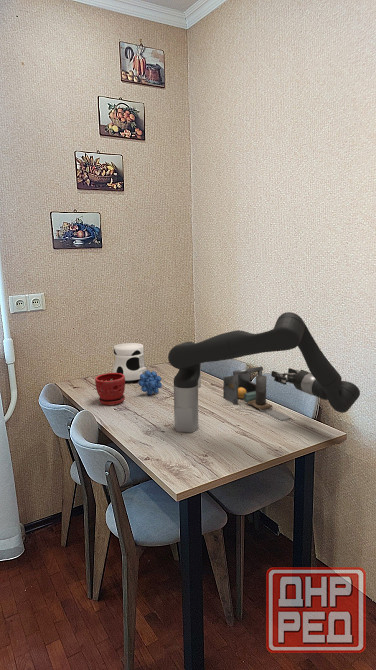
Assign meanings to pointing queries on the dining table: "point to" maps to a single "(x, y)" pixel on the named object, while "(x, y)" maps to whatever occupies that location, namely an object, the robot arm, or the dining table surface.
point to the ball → (241, 392)
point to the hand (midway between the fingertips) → (280, 372)
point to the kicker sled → (258, 394)
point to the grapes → (150, 382)
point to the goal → (239, 383)
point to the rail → (275, 414)
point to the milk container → (129, 361)
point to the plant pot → (110, 388)
